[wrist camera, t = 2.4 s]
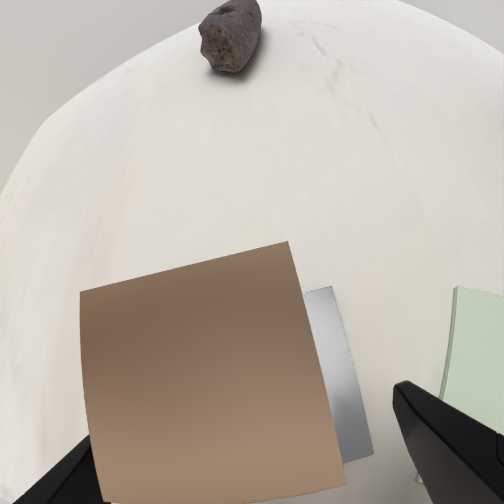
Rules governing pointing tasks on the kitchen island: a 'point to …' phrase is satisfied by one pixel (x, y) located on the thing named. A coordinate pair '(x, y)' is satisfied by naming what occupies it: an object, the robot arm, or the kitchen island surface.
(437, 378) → the kitchen island surface
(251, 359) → the walnut post
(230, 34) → the perforated stone tool
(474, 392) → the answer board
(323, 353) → the plate
